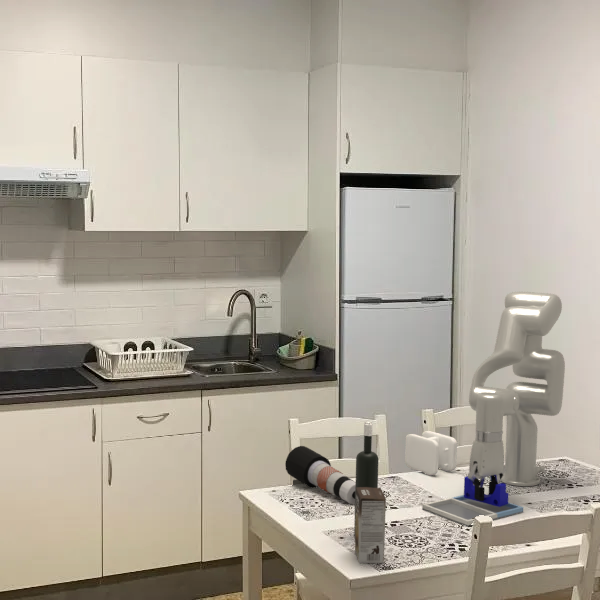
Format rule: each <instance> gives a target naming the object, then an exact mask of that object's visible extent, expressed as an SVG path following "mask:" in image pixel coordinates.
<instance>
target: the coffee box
mask: <svg viewBox="0 0 600 600" xmlns="http://www.w3.org/2000/svg"><path fill="white" fill-rule="evenodd" d="M386 503H387V498H386V496H385V495H384V492H383V490H382V487H378V488H371V487H356V515H355V514H354V523H355V536H354V551H355V554H356V558H357V562H358V563H359V564H383V563H385V561H384V560H385V537H386V535H385V534H386V532H385V531H386V514H387V512H386V511H387V510H386V505H387V504H386Z"/></svg>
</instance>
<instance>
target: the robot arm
mask: <svg viewBox="0 0 600 600" xmlns="http://www.w3.org/2000/svg"><path fill="white" fill-rule="evenodd" d="M562 305H563V303H562V299H561V297H560V296H559V295H557V294H555V293H548V292H547V293H546V292H531V291H512V292H509V293H507V294H506V296H505V298H504V306H505V308H504V310H502V312H501V315H500V320H499V325H498V329H497V335H496V340H495V345H494V349H493V352H492V354H491V355H489V356H488V357H487V358H485V359H484V360H483V361H482V362H481V363H480V364H479V366H478V367H477V369H476V370H475V372H474V374H473V377H472V380H471V385H470V390H469V396H468V404H469V406H470V408H471V409H472V410H473V411H475V413H476V414H475V435H474V439H475V440H473V442H472V445H471V450H470V456H469V464H468V465H469V467H468V468H469V469H468V471H469V472H468V475H467V476H468V478H469V479H470V480H471V481H472V483H473V485H474V486H475V495H474V498H475V499H477V500H479V501H484V494H485V487H484V484H485V480H486V478H488V477H489V478H490V481H488V494H493V493H494V491H495V488H496V485H497V484H500V483H504V484H506V485H510V486H516V487H533V486H538V485H539V484H541V478H540V477H539V476H538V474H539V473H544V472H545V470H546V469H545V466H544V465H540V466H537V450H538V449H537V447H538V425H537V422H536V420H535V418H534V417H533V415H538V416H548V417H554V416H557V415H558V414H559V413H561V410H562V406H563V397H564V394H563V393H564V384H565V371H566V368H565V367H566V364H565V363H566V362H565V357H564V355H563V354H562V353H561V351H558V350H556V349H548V348H543V347H542V346H543V337H544V336H547V335H548V334H549V333H550V332H551V330H553V328H554V326H555V324H556V322H557V321H558V320H559V318H560V316H561V313H562V310H563V309H562V308H563V306H562ZM509 366H512V372H513V373H514V375H516V376H517V377H520V378H526V379H535V380H542V381H543V380H544V381H545V382H546V383H536V382H527V381H514V382H511V383H509V384H508V385H507V386H506V387H505V388H499V387H493V386H492V387H490V386H484V385H485V383H486V381H487V379H488V378H489V377H490V375H492V374H494V372H497V371H499V370H501V369H503V368H504V369H505V368H506V367H509ZM504 417H506V434H505V435H506V436H505V448H504V441H503V434H504V431H503V425H504V420H503V419H504ZM479 479H480V480H479Z"/></svg>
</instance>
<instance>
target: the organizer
mask: <svg viewBox="0 0 600 600" xmlns="http://www.w3.org/2000/svg"><path fill="white" fill-rule="evenodd" d="M404 449H405V450H404V452H405V453H404V464H405V465H406V466H407V467H408V468H410V470H413V471H416V472H422V473H423V474H424V473H426V474H425V475H426V476H427V475H428V476H433V475H436V474H438V472H439V469H440V470H442V471H445V472H448V473H449V472H451V471H454V470H456V469H457V455H458V454H457V452H458V442H457V440H456V438H454V437H452V436H450V435H447V434H443V433H438V432H434V431H431V430H426V431H423V432H422V434H421V435H418V434H415V433H411V434H410V433H409V434H407V435H406V436H405V448H404Z"/></svg>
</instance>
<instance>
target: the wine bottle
mask: <svg viewBox="0 0 600 600" xmlns="http://www.w3.org/2000/svg"><path fill="white" fill-rule="evenodd" d="M372 437H373V422H372V421H366V422H364V423H363V450H362V451H360V452H359V453H357V455H356V457H355V458H356V459H355V482H356V484H355V504H354V516H355V515H356V487H371V488H379V455H377V453H376V452H374V451H372V445H373V444H372V443H373V439H372ZM353 531H354V532H353V536H354V537H355V522H354V529H353Z"/></svg>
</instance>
